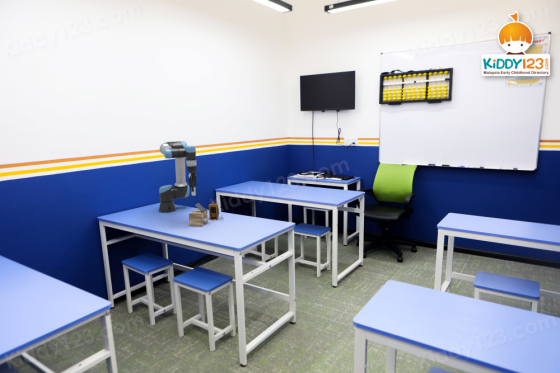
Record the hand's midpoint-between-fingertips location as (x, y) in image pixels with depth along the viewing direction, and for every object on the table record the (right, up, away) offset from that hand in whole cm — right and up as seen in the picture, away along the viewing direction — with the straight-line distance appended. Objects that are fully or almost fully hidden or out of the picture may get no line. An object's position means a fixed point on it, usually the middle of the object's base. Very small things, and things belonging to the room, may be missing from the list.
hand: (193, 195), depth 279 cm
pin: (+3, -23, +4) cm, 24 cm away
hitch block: (+3, -23, +4) cm, 24 cm away
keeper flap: (+4, -10, +2) cm, 11 cm away
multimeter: (+13, -20, +20) cm, 31 cm away
